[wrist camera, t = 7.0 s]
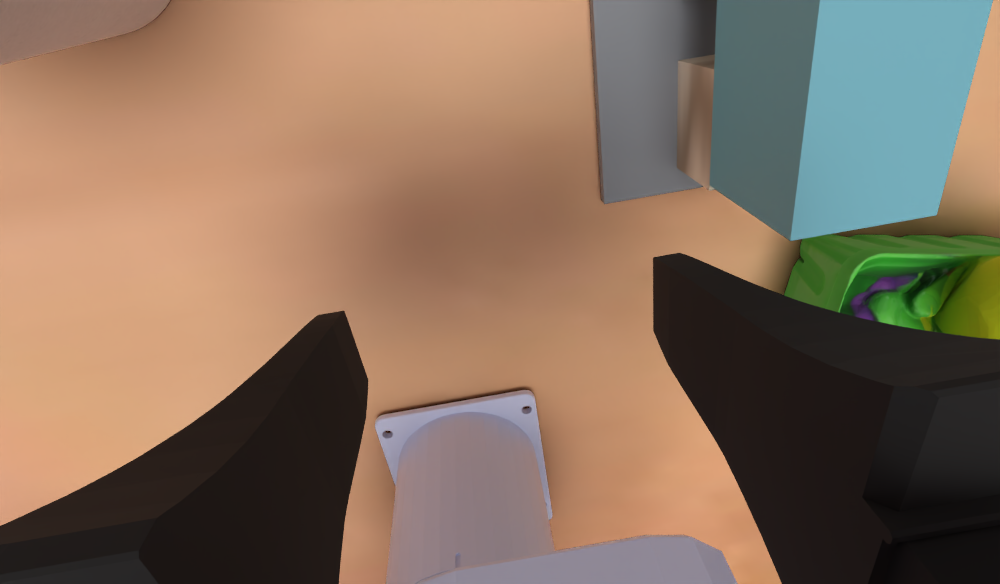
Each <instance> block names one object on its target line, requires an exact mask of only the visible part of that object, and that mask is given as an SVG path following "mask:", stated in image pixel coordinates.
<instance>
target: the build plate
mask: <svg viewBox="0 0 1000 584" xmlns="http://www.w3.org/2000/svg"><path fill="white" fill-rule="evenodd" d="M716 14H717V0H590V17H591V34H592V51H593V67H594V84H595V101H596V118H597V135H598V152H599V169H600V186H601V200H602V202H603V203H604V204H608V203H613V202H619V201H625V200H631V199H637V198H642V197H648V196H654V195H660V194H665V193H671V192H677V191H683V190H688V189H694V188H700V187H703V186H702V185H700V184H699V183H698V182H696V181H695V180H693V179H692V178H691V177H689V176H688V175H686V174H685V173H684V172H682V171H681V170H679V169H678V168H677V113H678V61H679V60H685V59H691V58H696V57H702V56H708V55H714V54H715V39H716Z"/></svg>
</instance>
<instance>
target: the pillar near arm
mask: <svg viewBox="0 0 1000 584" xmlns="http://www.w3.org/2000/svg"><path fill="white" fill-rule="evenodd" d="M714 63H715V54H714V55H708V56H702V57H696V58H691V59H685V60H679V61H678V113H677V168H678V169H679V170H681V171H682V172H684V173H685V174H686V175H688V176H689V177H691V178H692V179H693V180H695V181H696V182H698V183H699V184H700V185H702V186H703V187H705V188H706V189H708V190H709V191H710V190H715V189H714V188H713V187H711V186H710V185H709V184H710V160H711V136H712V111H713V87H714Z"/></svg>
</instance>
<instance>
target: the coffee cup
mask: <svg viewBox="0 0 1000 584" xmlns="http://www.w3.org/2000/svg"><path fill="white" fill-rule="evenodd" d="M169 2H170V0H0V65H3V64H7V63H11V62H15V61H19V60H23V59H27V58H31V57H35V56H39V55H43V54H47V53H51V52H55V51H59V50H63V49H67V48H71V47H75V46H79V45H83V44H87V43H91V42H95V41H99V40H103V39H107V38H111V37H115V36H119V35H123V34H127V33H130V32H133V31H135V30H138V29H140V28H142V27H144V26H145V25H147V24H149V23H150V22H151V21H153V20H154V19H155V18H156V17H157V16H158V15H160V13H161V12H162V11H163V10H164V9H165V8H166V6H167V5H168V3H169Z"/></svg>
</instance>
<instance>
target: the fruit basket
mask: <svg viewBox="0 0 1000 584" xmlns="http://www.w3.org/2000/svg"><path fill="white" fill-rule="evenodd" d="M800 256H801V258H799V259H798V260H797V262H796V264H795V265H794V267H793V269H792V272H791V275H790V278H789V281H788V284H787V287H786V290H785V293H784V296H787V297H790V298H793V299H795V300H798V301H802V302H805V303H808V304H811V305H814V306H818V307H821V308H825V309H828V310H832V311H836V312H839V313H843V314H846V315H851V316H855V317H859V318H863V319H868V320H873V321H877V322H882V323H887V324H892V325H897V326H902V327H908V328H914V329H920V330H926V331H932V332H940V333H947V334H954V335H961V336H969V337H977V338H989V339H1000V238H995V237H989V236H982V235H958V236H953V237H950V238H948V237H943V236H938V235H906V236H903V237H894V236H890V235H862V234H861V235H854V236H851V237H844V236H839V235H834V234H827V235H822V236H816V237H810V238H805V239H802V242H801V245H800Z"/></svg>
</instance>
